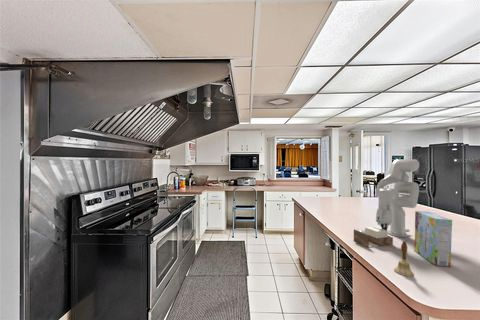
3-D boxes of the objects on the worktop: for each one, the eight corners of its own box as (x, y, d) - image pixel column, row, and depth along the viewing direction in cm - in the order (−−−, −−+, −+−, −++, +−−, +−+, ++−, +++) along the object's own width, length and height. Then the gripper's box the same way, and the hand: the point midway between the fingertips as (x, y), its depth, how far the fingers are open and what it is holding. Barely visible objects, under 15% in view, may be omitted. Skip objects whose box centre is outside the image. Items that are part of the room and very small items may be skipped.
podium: (377, 238, 170) (377, 227, 170) (393, 245, 158) (393, 233, 158) (353, 240, 165) (353, 229, 165) (367, 247, 152) (368, 235, 152)
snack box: (452, 267, 125) (453, 219, 125) (434, 266, 127) (435, 218, 127) (428, 252, 146) (429, 211, 146) (413, 250, 148) (413, 210, 148)
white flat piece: (361, 232, 185) (361, 229, 185) (368, 235, 178) (368, 231, 178) (354, 233, 183) (354, 229, 183) (360, 236, 176) (361, 232, 176)
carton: (375, 232, 168) (375, 226, 168) (387, 237, 158) (387, 230, 158) (365, 233, 166) (365, 227, 166) (376, 238, 156) (376, 231, 156)
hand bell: (418, 276, 115) (418, 244, 115) (402, 276, 115) (402, 244, 114) (404, 268, 123) (405, 238, 123) (390, 268, 123) (390, 238, 123)
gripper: (388, 205, 169) (388, 230, 169) (371, 206, 165) (371, 232, 165) (397, 207, 162) (397, 234, 162) (380, 208, 158) (380, 235, 158)
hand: (384, 233), depth 163 cm, fingers closed
